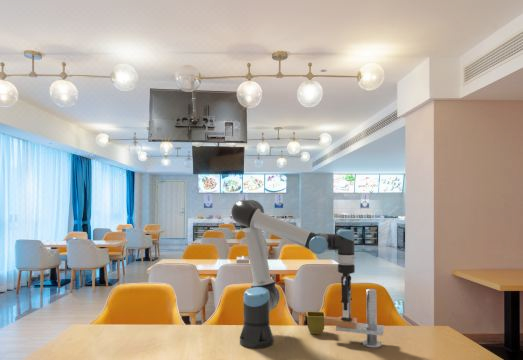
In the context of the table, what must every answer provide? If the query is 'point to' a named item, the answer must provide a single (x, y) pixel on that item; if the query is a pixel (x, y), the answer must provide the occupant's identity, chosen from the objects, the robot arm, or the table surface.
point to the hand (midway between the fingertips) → (346, 315)
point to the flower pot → (315, 322)
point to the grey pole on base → (368, 328)
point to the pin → (349, 306)
